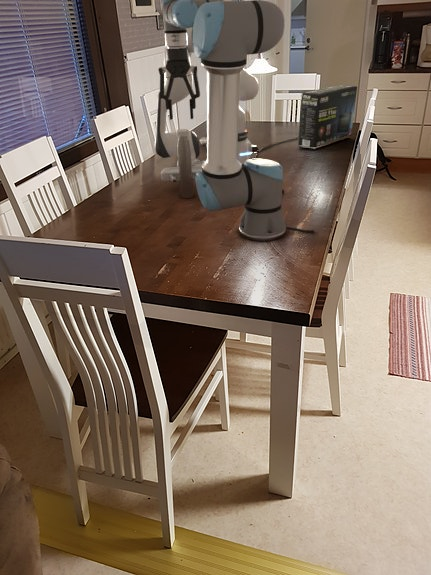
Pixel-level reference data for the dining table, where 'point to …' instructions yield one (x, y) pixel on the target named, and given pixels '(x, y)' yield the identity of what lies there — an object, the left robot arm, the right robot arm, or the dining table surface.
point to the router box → (326, 115)
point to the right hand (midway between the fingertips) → (181, 118)
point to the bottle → (185, 167)
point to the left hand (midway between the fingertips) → (185, 179)
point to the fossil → (203, 140)
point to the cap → (182, 132)
